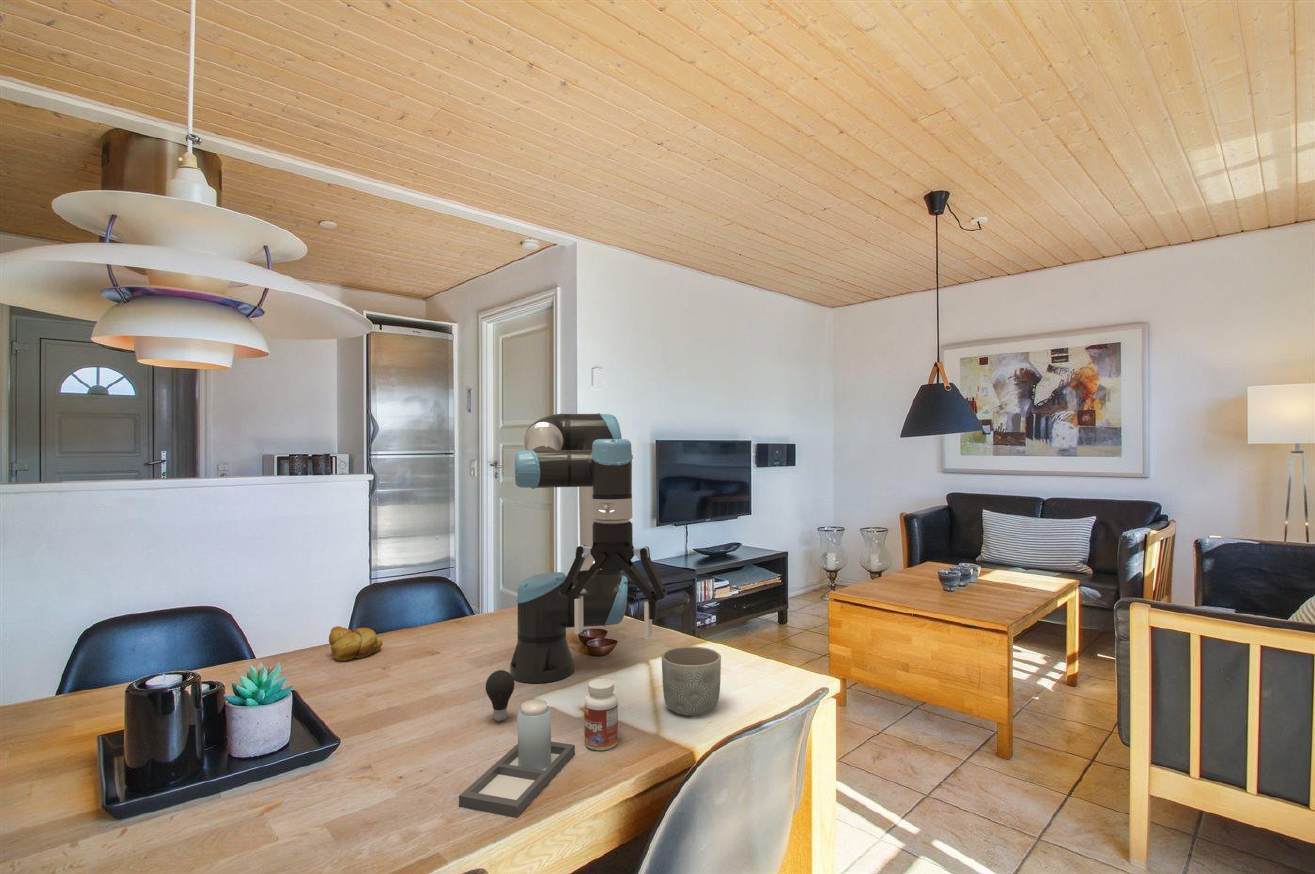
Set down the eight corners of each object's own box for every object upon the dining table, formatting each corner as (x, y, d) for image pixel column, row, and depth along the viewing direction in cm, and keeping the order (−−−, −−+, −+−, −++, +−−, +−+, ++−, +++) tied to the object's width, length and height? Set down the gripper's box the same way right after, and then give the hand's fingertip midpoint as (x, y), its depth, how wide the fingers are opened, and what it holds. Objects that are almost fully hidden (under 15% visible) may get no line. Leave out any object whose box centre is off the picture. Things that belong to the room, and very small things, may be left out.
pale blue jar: (511, 768, 106) (511, 709, 106) (528, 753, 112) (527, 696, 112) (541, 773, 105) (541, 713, 105) (556, 757, 110) (556, 700, 110)
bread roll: (378, 646, 174) (378, 617, 174) (387, 655, 166) (387, 625, 166) (326, 656, 166) (326, 625, 166) (333, 666, 158) (333, 634, 158)
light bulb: (520, 717, 127) (519, 667, 127) (504, 729, 122) (504, 677, 122) (496, 713, 129) (496, 664, 129) (479, 725, 124) (479, 674, 124)
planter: (680, 725, 123) (679, 669, 123) (651, 703, 134) (651, 651, 134) (733, 713, 129) (732, 659, 129) (701, 692, 140) (701, 642, 140)
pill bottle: (577, 744, 115) (576, 683, 116) (601, 732, 120) (600, 674, 120) (601, 755, 111) (600, 692, 112) (624, 742, 116) (624, 682, 116)
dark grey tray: (458, 806, 96) (458, 795, 96) (524, 746, 115) (524, 737, 115) (517, 817, 93) (517, 806, 93) (574, 753, 112) (574, 744, 112)
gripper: (542, 521, 118) (543, 635, 117) (672, 524, 112) (674, 644, 111) (558, 517, 125) (558, 624, 125) (681, 519, 119) (682, 632, 119)
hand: (613, 634), depth 118 cm, fingers open, 13 cm apart
